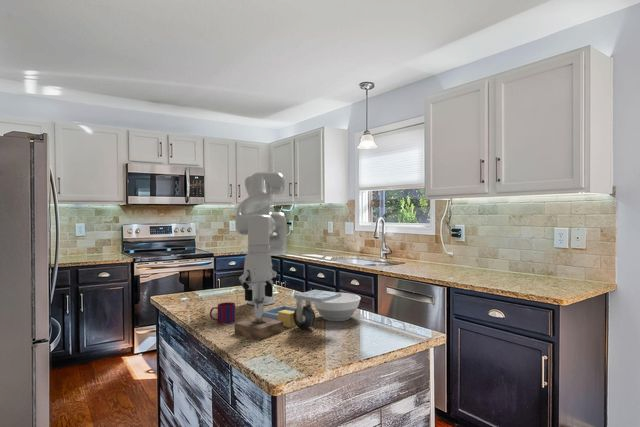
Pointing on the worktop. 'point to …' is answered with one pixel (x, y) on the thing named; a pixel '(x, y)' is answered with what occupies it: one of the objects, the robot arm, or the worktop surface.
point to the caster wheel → (310, 306)
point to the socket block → (258, 328)
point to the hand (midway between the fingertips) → (258, 298)
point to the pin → (259, 310)
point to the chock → (286, 318)
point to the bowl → (338, 307)
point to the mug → (225, 313)
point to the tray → (276, 311)
